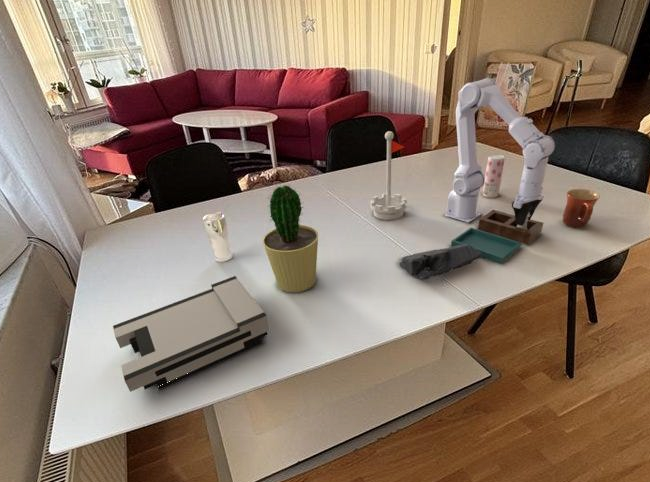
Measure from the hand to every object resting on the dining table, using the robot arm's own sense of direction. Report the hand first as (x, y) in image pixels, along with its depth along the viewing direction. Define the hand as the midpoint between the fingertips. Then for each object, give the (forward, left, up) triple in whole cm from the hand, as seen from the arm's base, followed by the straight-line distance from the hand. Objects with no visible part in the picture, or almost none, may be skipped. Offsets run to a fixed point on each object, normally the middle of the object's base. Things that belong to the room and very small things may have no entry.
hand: (522, 221), depth 123 cm
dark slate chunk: (-9, -31, -4) cm, 32 cm away
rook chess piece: (0, 0, -5) cm, 5 cm away
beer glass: (-66, -71, -5) cm, 97 cm away
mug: (+10, +16, -5) cm, 20 cm away
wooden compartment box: (-4, 0, -5) cm, 6 cm away
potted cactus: (-36, -64, -5) cm, 73 cm away
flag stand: (-44, -12, -5) cm, 45 cm away
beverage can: (-22, +24, -5) cm, 33 cm away
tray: (-4, -14, -5) cm, 15 cm away
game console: (-34, -98, -5) cm, 104 cm away
